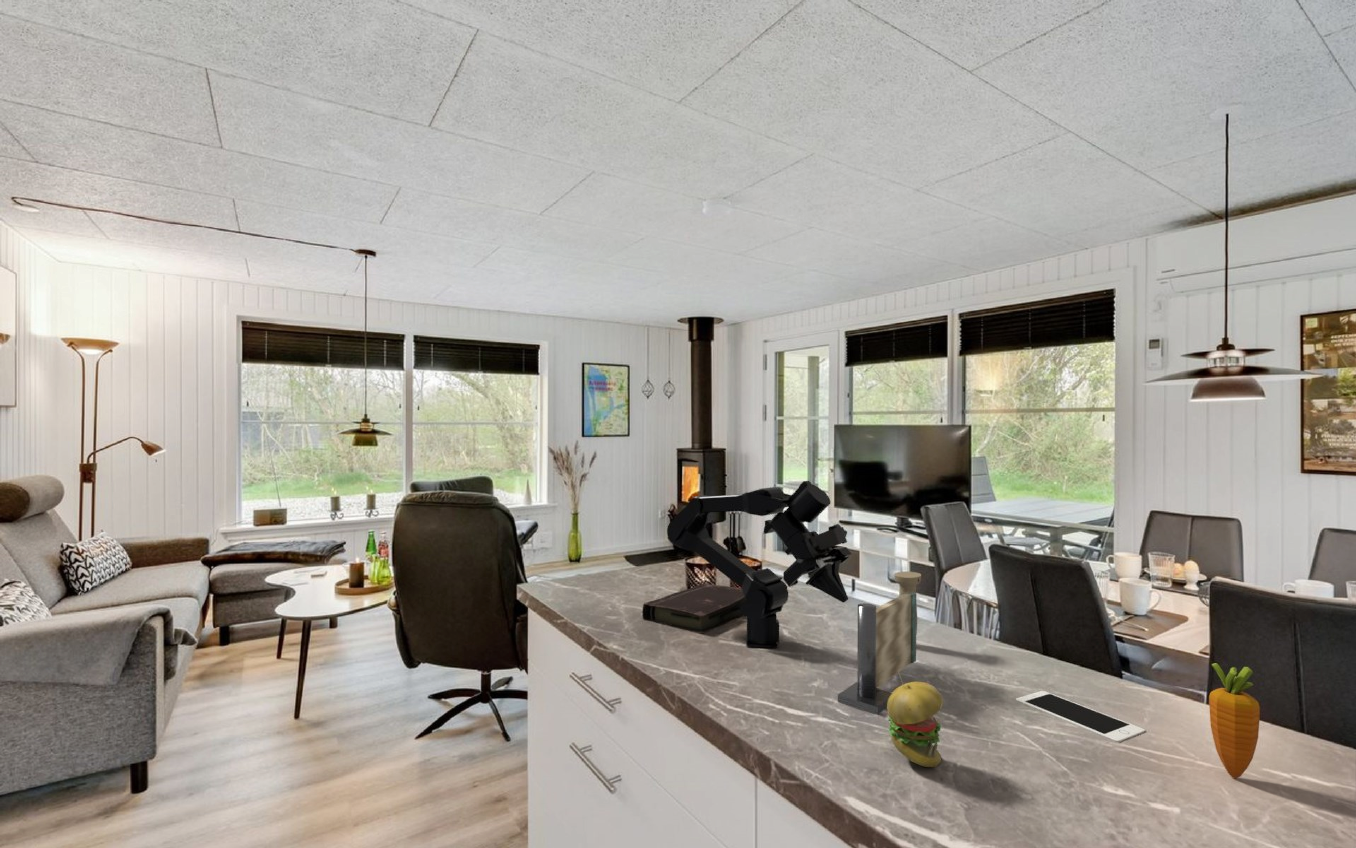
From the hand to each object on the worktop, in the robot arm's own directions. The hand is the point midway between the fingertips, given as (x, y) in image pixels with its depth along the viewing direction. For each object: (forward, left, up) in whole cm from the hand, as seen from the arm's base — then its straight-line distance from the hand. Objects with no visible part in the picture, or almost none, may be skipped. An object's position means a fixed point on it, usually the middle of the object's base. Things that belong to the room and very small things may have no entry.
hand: (845, 601), depth 119 cm
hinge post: (+1, -15, -13) cm, 20 cm away
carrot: (+45, -33, -13) cm, 57 cm away
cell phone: (+34, -16, -13) cm, 40 cm away
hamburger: (+4, -34, -13) cm, 37 cm away
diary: (-30, +30, -13) cm, 44 cm away
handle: (+15, +14, -13) cm, 24 cm away
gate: (+7, -6, -11) cm, 15 cm away
